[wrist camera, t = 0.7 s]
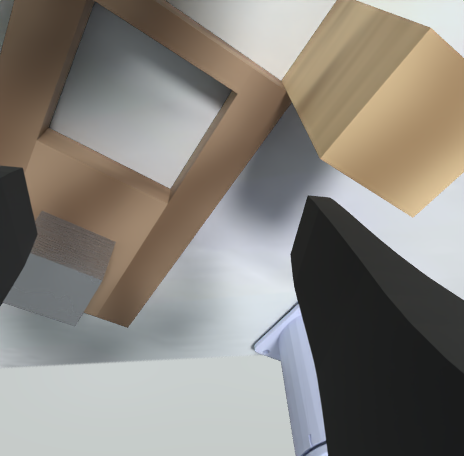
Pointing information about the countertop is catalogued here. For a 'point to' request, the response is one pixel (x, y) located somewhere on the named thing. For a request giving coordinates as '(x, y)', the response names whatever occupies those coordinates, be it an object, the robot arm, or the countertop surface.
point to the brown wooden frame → (109, 171)
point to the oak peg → (382, 103)
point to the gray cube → (61, 270)
